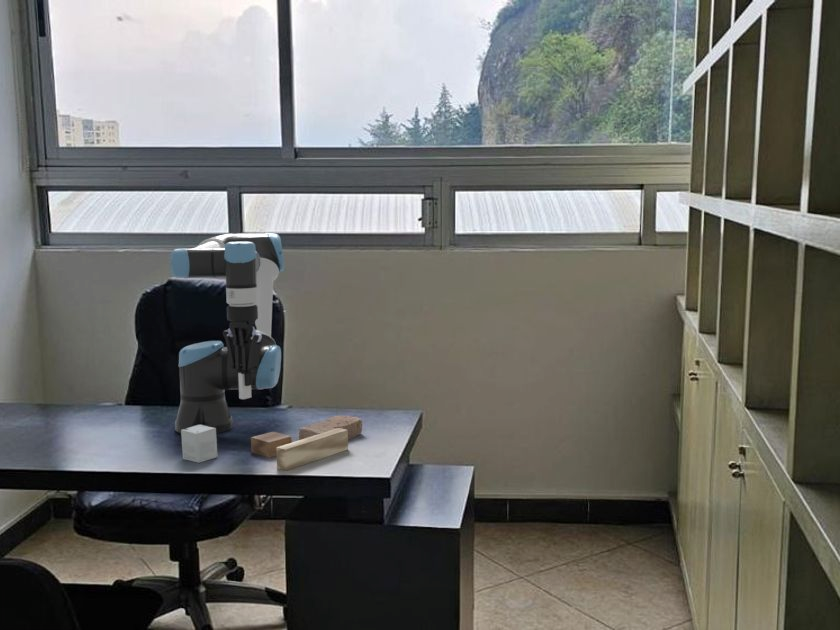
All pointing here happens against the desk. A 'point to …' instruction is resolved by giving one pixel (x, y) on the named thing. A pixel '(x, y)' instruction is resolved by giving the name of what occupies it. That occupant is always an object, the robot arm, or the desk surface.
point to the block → (269, 443)
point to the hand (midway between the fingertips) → (245, 397)
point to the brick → (333, 426)
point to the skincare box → (199, 443)
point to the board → (311, 449)
